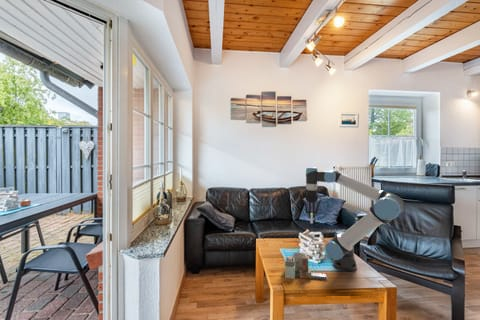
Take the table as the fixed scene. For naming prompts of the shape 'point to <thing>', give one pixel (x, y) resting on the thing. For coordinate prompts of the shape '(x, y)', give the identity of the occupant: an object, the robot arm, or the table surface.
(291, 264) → the cabinet
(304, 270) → the carriage
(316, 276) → the rail
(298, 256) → the mug
